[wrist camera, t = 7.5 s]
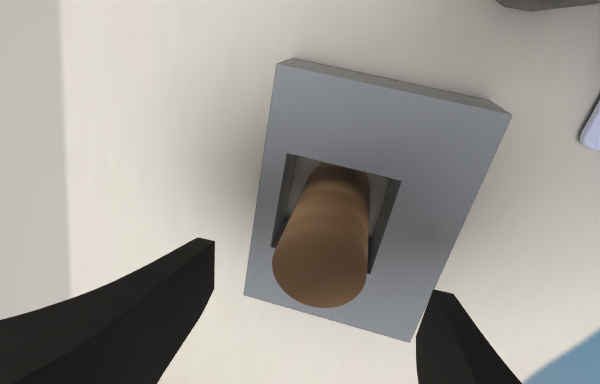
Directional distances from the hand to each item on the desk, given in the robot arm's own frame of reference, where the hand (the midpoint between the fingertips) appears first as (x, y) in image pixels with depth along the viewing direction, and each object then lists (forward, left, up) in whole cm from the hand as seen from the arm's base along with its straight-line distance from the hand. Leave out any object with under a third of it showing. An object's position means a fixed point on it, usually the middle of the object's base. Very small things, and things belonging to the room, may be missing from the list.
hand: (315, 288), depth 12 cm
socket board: (-1, 0, -8) cm, 8 cm away
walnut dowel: (0, 0, -8) cm, 8 cm away
